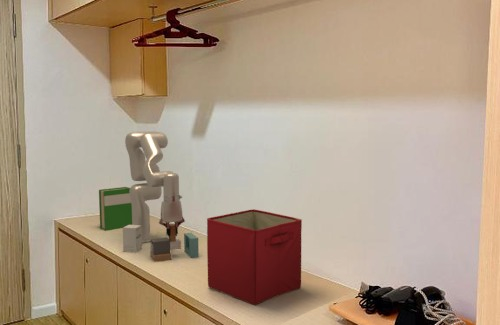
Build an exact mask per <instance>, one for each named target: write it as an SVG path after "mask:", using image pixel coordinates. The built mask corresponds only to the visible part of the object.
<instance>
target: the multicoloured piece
mask: <svg viewBox="0 0 500 325" xmlns="http://www.w3.org/2000/svg"><path fill="white" fill-rule="evenodd" d="M169 227H170V237H169V236H168V239H169V240H170V251H173V250H174V251H175V250H181V249H182V241H181V240H180V238H176V237H177V236H176V226H175V223H169ZM150 251H152V252H154V250H153V242H151V241H150Z"/></svg>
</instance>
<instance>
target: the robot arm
mask: <svg viewBox="0 0 500 325" xmlns="http://www.w3.org/2000/svg"><path fill="white" fill-rule="evenodd" d="M168 142H169V140H168V137H167V135H166V134H165V132H161V131H133V132H129V133H127V134H126V136H125V140H124V144H125V149H126V151H127V154H128V157H129V158H128V159H129V168H130V170H129V171H130V178H131V180H132V181H134V182H142V183H135V184H133V185H131V186H130V187H129V188H130V190H129V193H130V198H131V205H132V225H141V234H142V244H144V243H151V239H154V237H153V236H151V221H150V220H151V216H150V207H149V205H148V204H147V203H146V201H153V200H159V199H160V198H161V197H162V192H163V200H162V201H161V206H160V219H159V221H158V224H159V225H162V226H163V227H165V228H166V230H165V231H166V232H165V233H166V235H167V237H168V238H169V237H170V227H169V224H170V223H173V222H174V223H173V224H174V225H175V226H176V237H177V235H178V233H179V227H180V226H181V225H182V224H183V223H185V221H186V220H185V218H184V216H183V207H182V202H181V199H183V195H180V177H179V174H178V173H175V172H173V171H170V170H168V171H167V170H165V171H160V170H161V169H160V167H159V165H158V163H159V162H161V161H162V159H163V157H164V154H163V152H162V149H166V148H167V147H168V144H169V143H168ZM144 181H145V183H143V182H144ZM162 188H163V190H162Z"/></svg>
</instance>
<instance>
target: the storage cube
mask: <svg viewBox="0 0 500 325" xmlns="http://www.w3.org/2000/svg"><path fill="white" fill-rule="evenodd" d="M302 220H303V219H302V218H298V217H294V216H289V215H284V214H278V213H274V212H269V211H264V210H260V209H254V208H253V209H248V210H247V209H246V210H242V211H238V212H231V213H227V214H222V215H216V216H213V217H207V218H206V224H207V226H206V228H207V229H206V231H207V232H206V236H207V237H206V243H207V244H206V245H207V246H206V248H207V249H206V250H207V252H206V253H207V286H208V288H210V289H213V290H215V291H217V292H220V293H223V294H226V295H228V296H231V297H232V298H233V297H234V298H236V299H238V300H240V301H242V302H243V301H244V302H246V303H248V304H251V305H252V306H256V305H258V304H260V303H262V302H265V301H268V300H270V299H273V298H276V297H278V296H281V295H284V294H286V293H290V292H293V291H296V290H299V289H300V288H301V287H302V228H303V227H302Z"/></svg>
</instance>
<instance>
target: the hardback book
mask: <svg viewBox="0 0 500 325" xmlns="http://www.w3.org/2000/svg"><path fill="white" fill-rule="evenodd" d="M130 188H131V187H128V186H121V187H113V188H104V189H98V203H99V207H98V208H99V229H100V230H104V231H105V232H107V231H112V230H119V229H123V227H125V226H127V225H132V205H131V198H130V193H129V190H130Z"/></svg>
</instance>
